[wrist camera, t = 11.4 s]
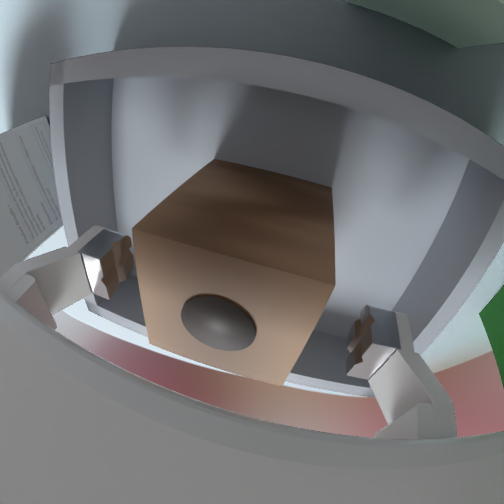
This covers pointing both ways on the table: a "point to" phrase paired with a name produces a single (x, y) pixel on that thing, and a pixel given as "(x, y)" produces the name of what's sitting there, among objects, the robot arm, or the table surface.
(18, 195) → the supplement box
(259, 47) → the table surface
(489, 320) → the hardback book
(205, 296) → the walnut block
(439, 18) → the sage block
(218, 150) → the tray
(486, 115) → the table surface
